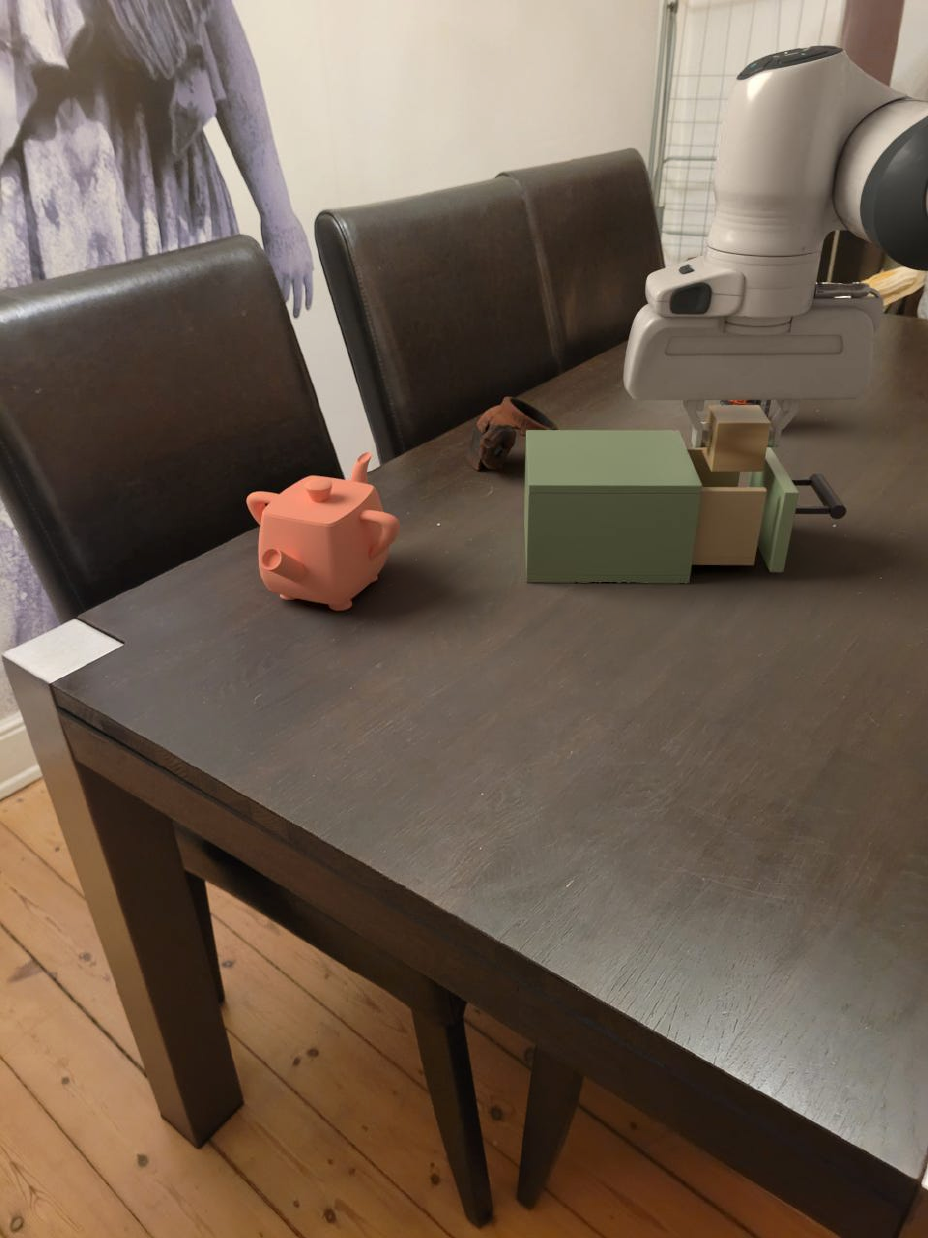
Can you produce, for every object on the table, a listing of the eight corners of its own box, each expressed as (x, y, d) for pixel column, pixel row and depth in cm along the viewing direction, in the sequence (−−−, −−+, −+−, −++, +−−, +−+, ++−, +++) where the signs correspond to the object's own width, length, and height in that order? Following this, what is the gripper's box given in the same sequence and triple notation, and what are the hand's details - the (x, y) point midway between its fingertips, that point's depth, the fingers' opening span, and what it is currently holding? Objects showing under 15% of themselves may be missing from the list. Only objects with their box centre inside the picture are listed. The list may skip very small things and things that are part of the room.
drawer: (807, 515, 92) (823, 441, 88) (842, 572, 82) (861, 492, 78) (618, 514, 93) (624, 440, 88) (631, 571, 83) (638, 491, 79)
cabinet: (668, 520, 93) (679, 429, 88) (689, 583, 83) (702, 485, 78) (523, 519, 94) (526, 429, 89) (526, 582, 83) (528, 484, 78)
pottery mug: (473, 446, 111) (508, 386, 108) (537, 490, 110) (575, 431, 107) (440, 459, 101) (477, 393, 97) (511, 508, 100) (551, 443, 96)
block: (751, 452, 85) (759, 404, 82) (763, 472, 81) (771, 422, 78) (702, 452, 85) (708, 404, 82) (711, 472, 81) (717, 423, 79)
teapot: (412, 615, 79) (407, 508, 74) (272, 639, 76) (256, 529, 71) (377, 541, 90) (369, 443, 85) (254, 560, 88) (239, 460, 82)
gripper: (875, 273, 77) (841, 431, 84) (627, 275, 78) (616, 432, 85) (903, 291, 71) (864, 458, 79) (637, 294, 72) (623, 459, 80)
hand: (733, 445), depth 82 cm, fingers closed on block, 4 cm apart
